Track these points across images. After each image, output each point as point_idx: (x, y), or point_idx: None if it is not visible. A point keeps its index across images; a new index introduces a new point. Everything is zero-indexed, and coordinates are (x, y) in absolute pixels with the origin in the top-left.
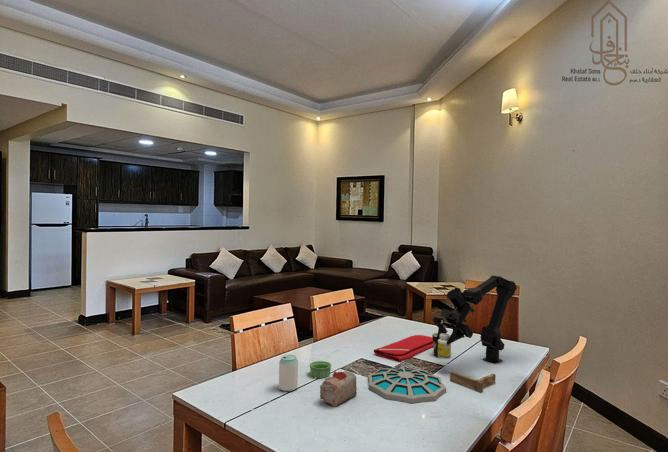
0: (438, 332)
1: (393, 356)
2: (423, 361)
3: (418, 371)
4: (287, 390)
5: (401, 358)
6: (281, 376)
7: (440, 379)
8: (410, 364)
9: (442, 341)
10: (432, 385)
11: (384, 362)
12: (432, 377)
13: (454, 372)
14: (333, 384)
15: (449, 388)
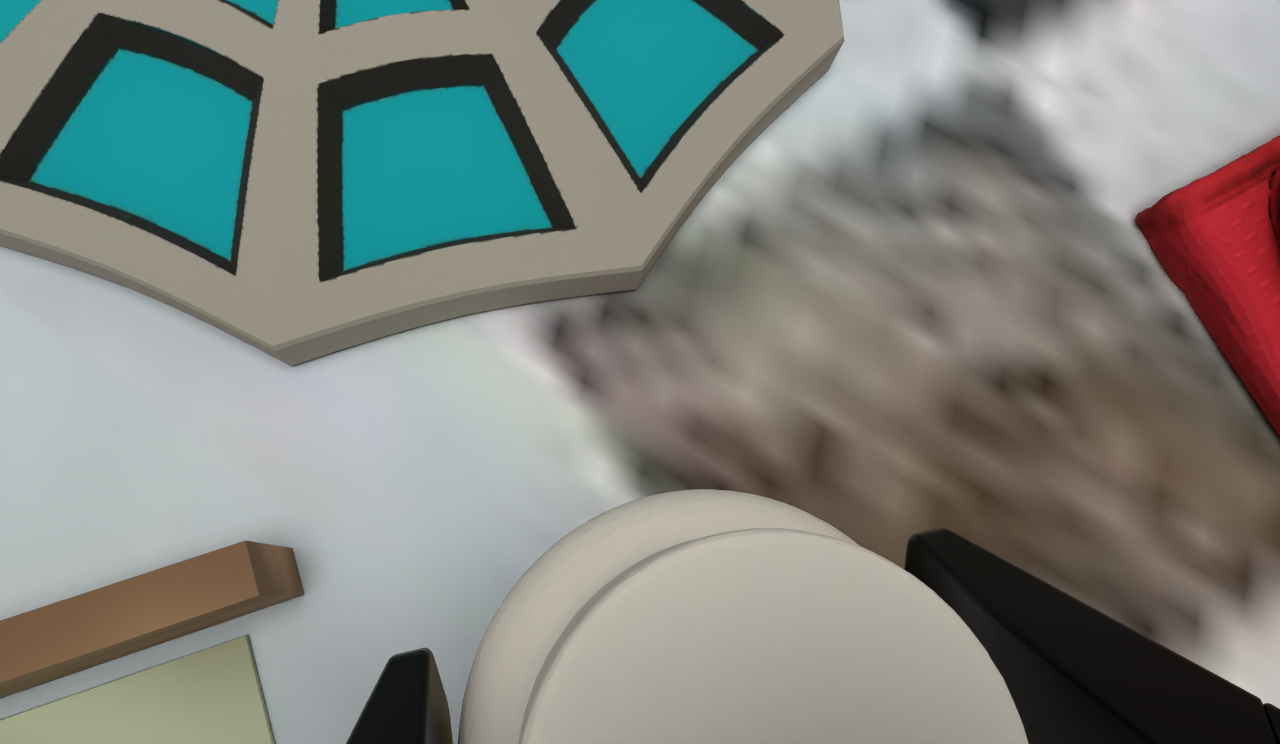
0: (1222, 707)
1: (1261, 146)
2: (1137, 606)
3: (452, 40)
4: None
5: (1193, 240)
6: None
7: (207, 302)
8: (1039, 331)
9: (580, 555)
10: (10, 21)
11: (1157, 36)
12: (245, 172)
13: (192, 612)
14: None
15: (53, 363)
